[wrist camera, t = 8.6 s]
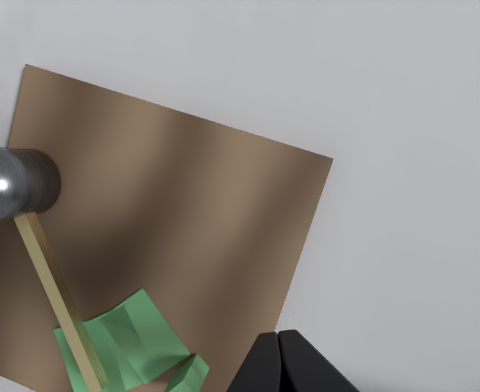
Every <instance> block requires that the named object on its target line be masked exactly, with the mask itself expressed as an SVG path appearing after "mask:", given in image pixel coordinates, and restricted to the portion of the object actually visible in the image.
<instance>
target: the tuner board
mask: <svg viewBox="0 0 480 392" xmlns="http://www.w3.org/2000/svg"><path fill="white" fill-rule="evenodd" d="M8 148H28V149H37V150H40V151H42V152H44V153H46V154H47V155H48V156H49V157H50V158H51V159H52V160H53V161H54V162H55V164H56V165H57V167H58V169H59V172H60V176H61V191H60V195H59V197H58V199H57V201H56V203H55V204H54V205H53V206H52V207H51V208H50V209H49V210H47V211H45V212H43V213H39V214H36V216H37V218H38V220H39V223H40V225H41V227H42V229H43V232H44V234H45V236H46V239H47V241H48V243H49V246H50V248H51V250H52V252H53V255H54V257H55V259H56V262H57V264H58V266H59V268H60V271H61V273H62V275H63V278H64V280H65V282H66V285H67V287H68V289H69V291H70V294H71V296H72V298H73V301H74V303H75V305H76V307H77V310H78V312H79V314H80V317H81V319H82V321H83V324H84V326H85V328H86V330H87V333H88V335H89V337H90V340H91V342H92V344H93V347H94V349H95V351H96V353H97V356H98V358H99V360H100V363H101V365H102V367H103V369H104V372H105V374H106V376H107V379H108V381H109V383H108V385H107V386H106V387H105V388H104V389H103V390H102V391H100V392H226V391H227V389H228V387H229V386H230V384H231V382H232V380H233V379H234V377H235V375H236V373H237V372H238V370H239V368H240V366H241V364H242V363H243V361H244V359H245V357H246V356H247V354H248V352H249V350H250V349H251V347H252V345H253V343H254V342H255V340H256V338H257V336H258V335H259V334H260V333H266V332H274V330H275V327H276V324H277V321H278V318H279V315H280V312H281V310H282V307H283V304H284V301H285V298H286V295H287V292H288V289H289V286H290V283H291V281H292V278H293V275H294V272H295V269H296V266H297V263H298V260H299V257H300V254H301V252H302V249H303V246H304V243H305V240H306V237H307V234H308V231H309V228H310V225H311V223H312V220H313V217H314V214H315V211H316V208H317V205H318V202H319V199H320V196H321V194H322V191H323V188H324V185H325V182H326V179H327V176H328V173H329V170H330V167H331V165H332V162H333V159H332V158H329V157H326V156H323V155H319V154H316V153H313V152H310V151H306V150H303V149H300V148H297V147H293V146H290V145H287V144H284V143H280V142H277V141H274V140H271V139H268V138H264V137H261V136H258V135H255V134H251V133H248V132H245V131H242V130H238V129H235V128H232V127H229V126H225V125H222V124H219V123H216V122H212V121H209V120H206V119H203V118H200V117H196V116H193V115H190V114H187V113H183V112H180V111H177V110H174V109H170V108H167V107H164V106H161V105H157V104H154V103H151V102H148V101H145V100H141V99H138V98H135V97H132V96H128V95H125V94H122V93H119V92H115V91H112V90H109V89H106V88H102V87H99V86H96V85H93V84H89V83H86V82H83V81H80V80H77V79H73V78H70V77H67V76H64V75H60V74H57V73H54V72H51V71H47V70H44V69H41V68H38V67H34V66H31V65H28V64H25V69H24V74H23V78H22V83H21V88H20V92H19V97H18V102H17V106H16V111H15V116H14V120H13V125H12V130H11V135H10V139H9V144H8ZM0 376H2V377H4V378H7V379H9V380H11V381H14V382H16V383H18V384H21V385H23V386H25V387H28V388H30V389H32V390H35V391H37V392H89V389H88V387H87V385H86V383H85V380H84V378H83V376H82V373H81V371H80V369H79V367H78V364H77V362H76V360H75V357H74V355H73V353H72V351H71V348H70V346H69V344H68V341H67V339H66V337H65V335H64V332H63V330H62V328H61V325H60V323H59V321H58V319H57V316H56V314H55V312H54V309H53V307H52V305H51V303H50V300H49V298H48V296H47V293H46V291H45V289H44V287H43V284H42V282H41V280H40V277H39V275H38V273H37V271H36V268H35V266H34V264H33V261H32V259H31V257H30V255H29V252H28V250H27V248H26V245H25V243H24V241H23V239H22V236H21V234H20V232H19V229H18V227H17V225H16V223H15V220H14V219H11V220H6V221H1V222H0Z"/></svg>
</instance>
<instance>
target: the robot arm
mask: <svg viewBox="0 0 480 392" xmlns="http://www.w3.org/2000/svg"><path fill="white" fill-rule="evenodd" d="M226 392H360V391H359V390H358V389H357V388H356V387H355V386H354V385H353V384H352V383H351V382H350V381H348V380H347V379H346V378H345V377H344V376H343V375H342V374H341V373H340V372H339V371H338V370H337V369H336V368H335V367H334V366H333V365H332V364H331V363H330V362H329V361H328V360H327V359H326V358H325V357H324V356H323V355H322V354H321V353H320V352H319V351H318V350H317V349H316V348H315V347H314V346H313V345H312V344H311V343H309V342H308V341H307V340H306V339H305V338H304V337H303V336H302V335H301V334H300V333H299V332H298V331H297V330H295V329H293V330H284V331H280V332H279V333H278V334H277V333H276V332H266V333H260V334H259V335H258V336H257V338H256V340H255V342H254V343H253V345H252V347H251V349H250V350H249V352H248V354H247V356H246V357H245V359H244V361H243V363H242V364H241V366H240V368H239V370H238V372H237V373H236V375H235V377H234V379H233V380H232V382H231V384H230V386H229V387H228V389H227V391H226Z"/></svg>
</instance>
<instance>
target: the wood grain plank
mask: <svg viewBox="0 0 480 392" xmlns="http://www.w3.org/2000/svg"><path fill="white" fill-rule="evenodd" d="M60 191H61V176H60V172H59V169H58V167H57V165H56V164H55V162H54V161H53V160H52V159H51V158H50V157H49V156H48V155H47V154H46V153H44V152H42V151H40V150H37V149H28V148H1V147H0V222H1V221H6V220H11V219H14V220H15V223H16V225H17V227H18V229H19V232H20V234H21V236H22V239H23V241H24V243H25V245H26V248H27V250H28V252H29V255H30V257H31V259H32V261H33V264H34V266H35V268H36V271H37V273H38V275H39V277H40V280H41V282H42V284H43V287H44V289H45V291H46V293H47V296H48V298H49V300H50V303H51V305H52V307H53V309H54V312H55V314H56V316H57V319H58V321H59V323H60V325H61V328H62V330H63V332H64V335H65V337H66V339H67V341H68V344H69V346H70V348H71V351H72V353H73V355H74V357H75V360H76V362H77V364H78V367H79V369H80V371H81V373H82V376H83V378H84V380H85V383H86V385H87V387H88V389H89V392H100V391H102V390H103V389H104V388H105V387H106V386H107V385H108V383H109V381H108V379H107V376H106V374H105V372H104V369H103V367H102V365H101V363H100V360H99V358H98V356H97V353H96V351H95V349H94V347H93V344H92V342H91V340H90V337H89V335H88V333H87V330H86V328H85V326H84V324H83V321H82V319H81V317H80V314H79V312H78V310H77V307H76V305H75V303H74V301H73V298H72V296H71V294H70V291H69V289H68V287H67V285H66V282H65V280H64V278H63V275H62V273H61V271H60V268H59V266H58V264H57V262H56V259H55V257H54V255H53V252H52V250H51V248H50V246H49V243H48V241H47V239H46V236H45V234H44V232H43V229H42V227H41V225H40V223H39V220H38V218H37V216H36V214H39V213H43V212H45V211H47V210H49V209H50V208H51V207H52V206H53V205H54V204H55V203H56V201H57V199H58V197H59V195H60Z"/></svg>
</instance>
